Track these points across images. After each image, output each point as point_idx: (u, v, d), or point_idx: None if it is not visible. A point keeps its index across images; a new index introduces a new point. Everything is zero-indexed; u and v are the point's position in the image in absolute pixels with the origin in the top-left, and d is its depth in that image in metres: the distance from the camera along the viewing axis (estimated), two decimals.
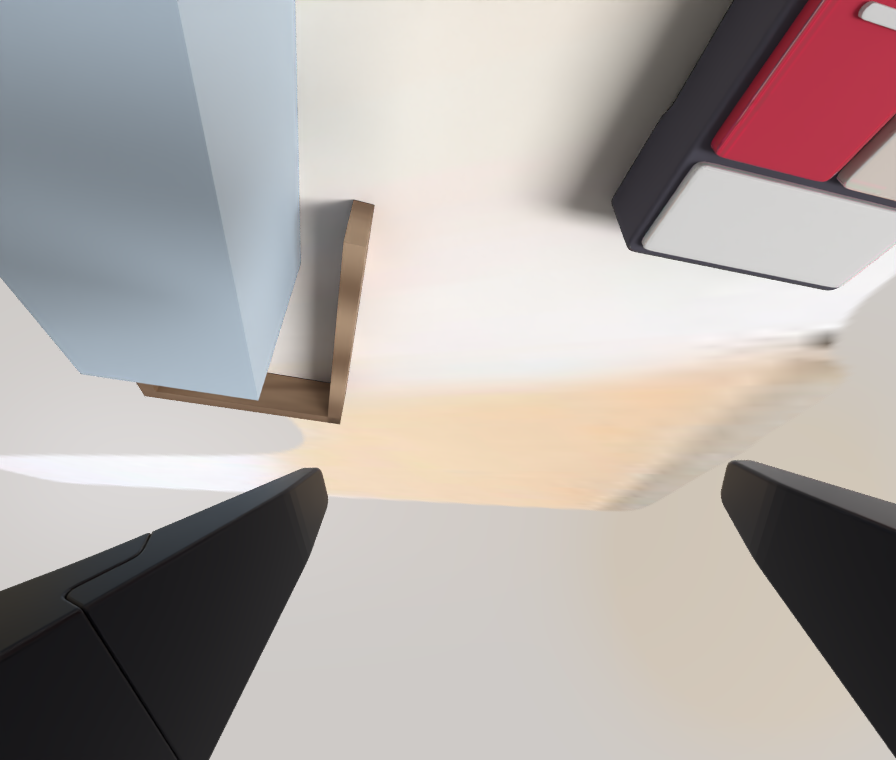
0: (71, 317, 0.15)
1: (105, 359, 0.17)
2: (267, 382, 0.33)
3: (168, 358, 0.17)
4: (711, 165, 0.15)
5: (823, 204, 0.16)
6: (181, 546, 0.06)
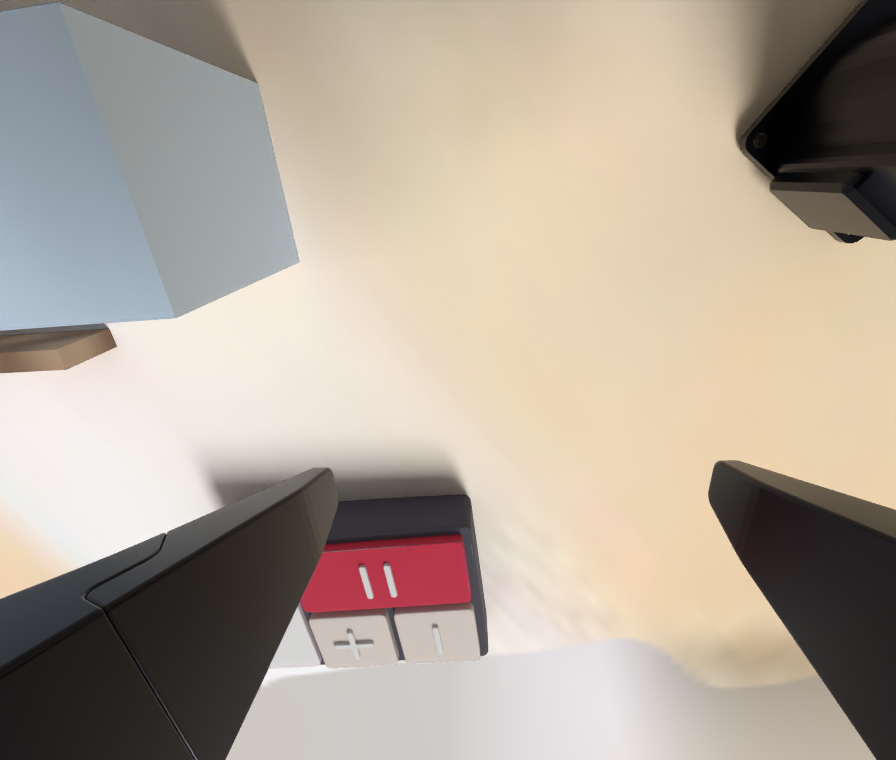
0: None
1: None
2: None
3: None
4: None
5: (297, 620, 0.26)
6: (198, 546, 0.06)
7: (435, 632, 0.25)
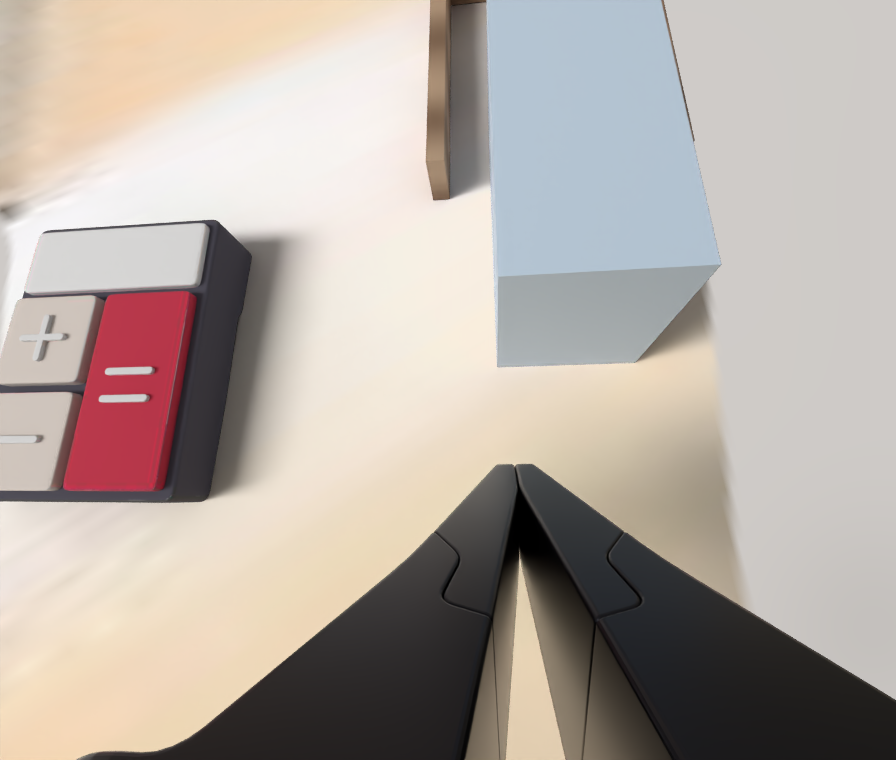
0: (629, 12, 0.17)
1: None
2: None
3: None
4: (187, 286, 0.22)
5: (99, 283, 0.23)
6: (494, 547, 0.06)
7: (29, 438, 0.20)
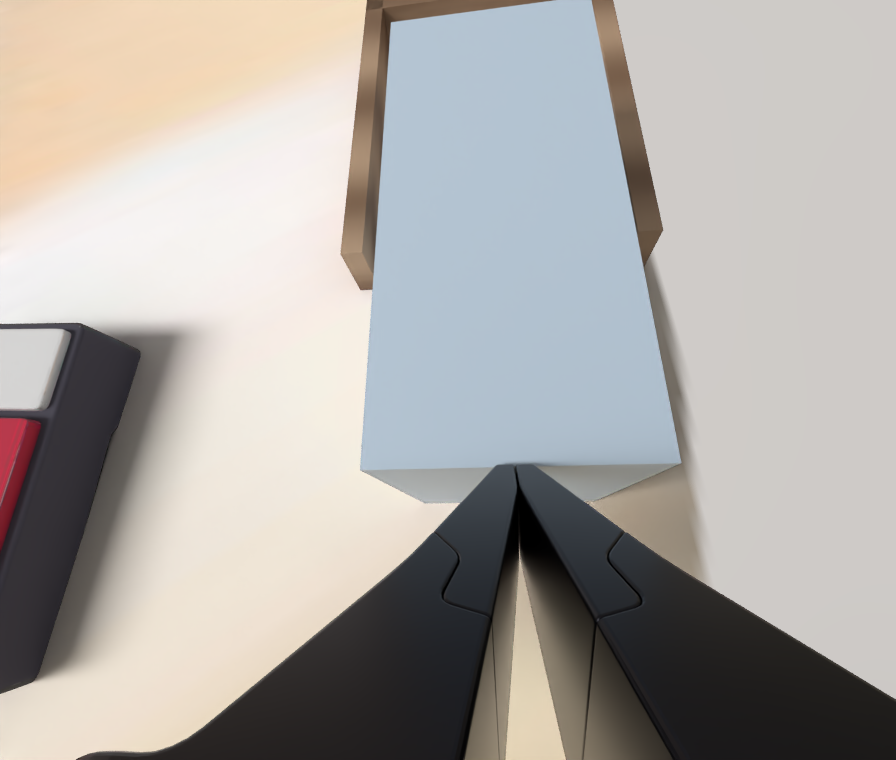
0: (563, 83, 0.13)
1: (551, 30, 0.14)
2: None
3: (478, 56, 0.14)
4: (31, 409, 0.18)
5: None
6: (493, 547, 0.06)
7: None
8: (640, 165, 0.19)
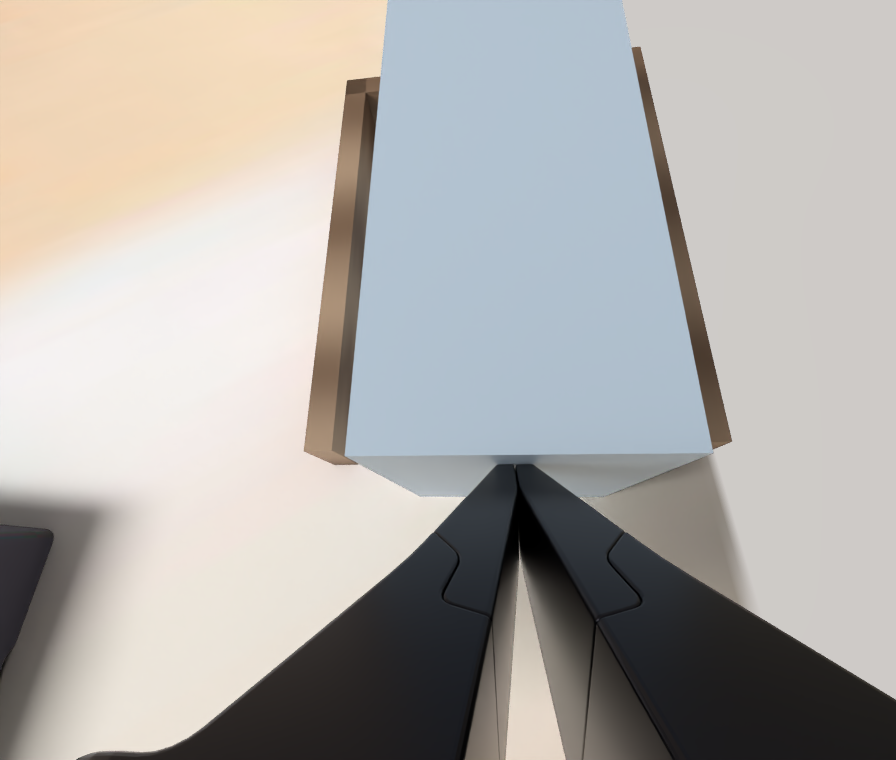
0: (580, 34, 0.12)
1: None
2: None
3: (486, 6, 0.13)
4: None
5: None
6: (493, 547, 0.06)
7: None
8: (697, 338, 0.15)
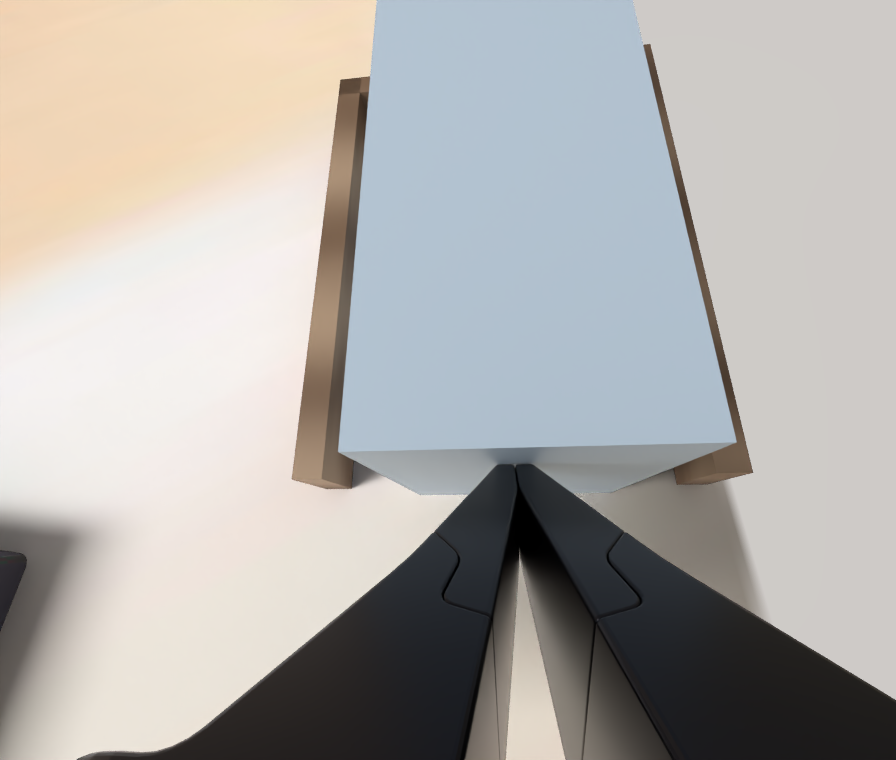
0: (582, 5, 0.11)
1: None
2: None
3: None
4: None
5: None
6: (493, 547, 0.06)
7: None
8: None
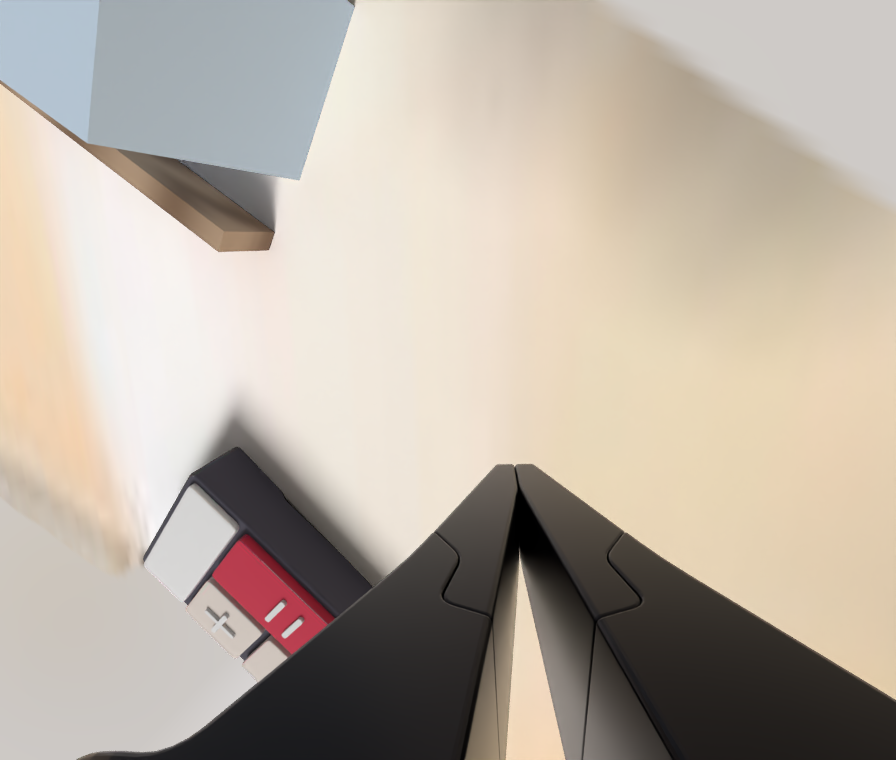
0: None
1: None
2: None
3: None
4: (234, 533, 0.24)
5: (199, 570, 0.26)
6: (494, 547, 0.06)
7: None
8: None
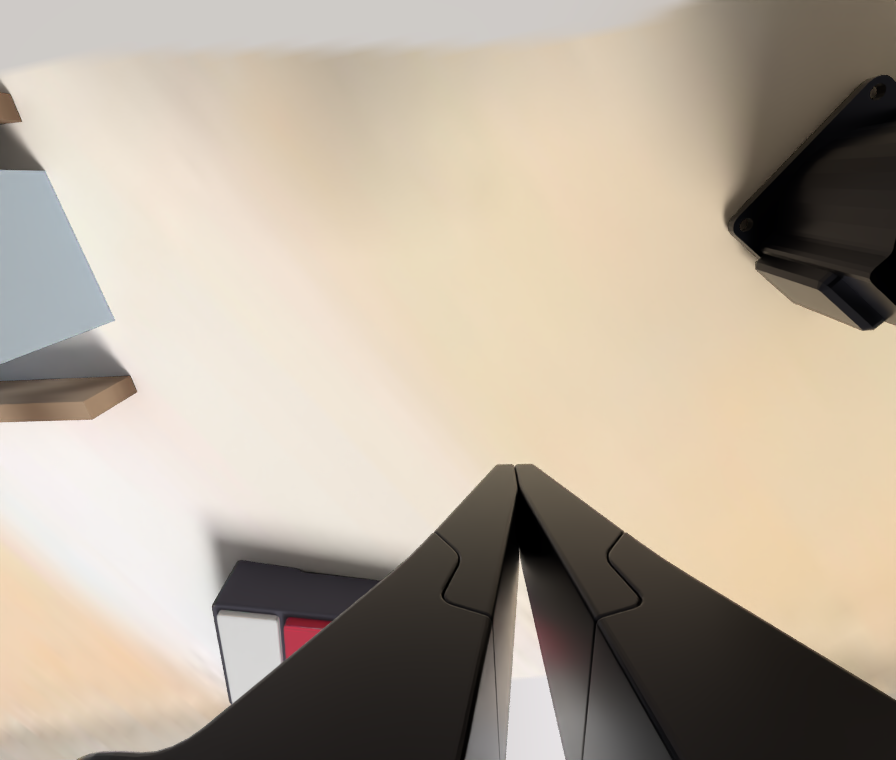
0: None
1: None
2: None
3: None
4: (278, 624, 0.26)
5: None
6: (493, 546, 0.06)
7: None
8: None
